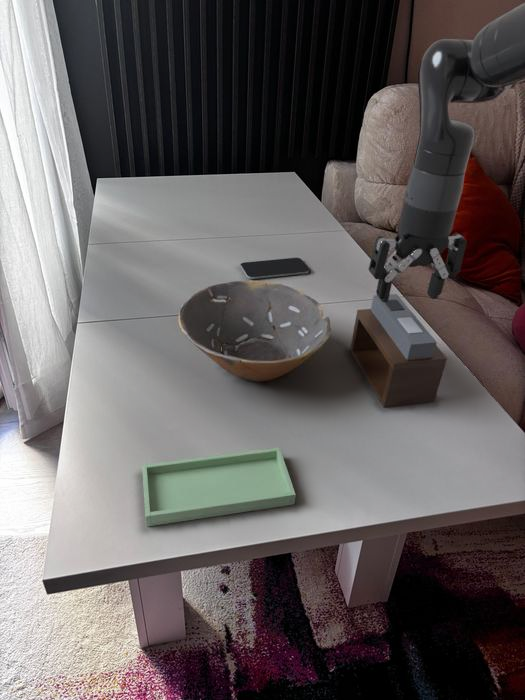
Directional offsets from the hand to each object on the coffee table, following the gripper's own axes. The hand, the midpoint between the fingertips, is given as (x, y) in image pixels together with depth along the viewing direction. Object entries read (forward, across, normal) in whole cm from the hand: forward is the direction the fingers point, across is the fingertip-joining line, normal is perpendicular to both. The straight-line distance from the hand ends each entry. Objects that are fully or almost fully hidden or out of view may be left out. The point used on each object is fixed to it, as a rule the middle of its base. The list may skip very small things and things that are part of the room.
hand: (407, 298), depth 88 cm
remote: (+7, 0, 0) cm, 7 cm away
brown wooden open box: (+16, 0, 0) cm, 16 cm away
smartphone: (+16, -11, +41) cm, 45 cm away
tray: (+16, -34, -20) cm, 42 cm away
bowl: (+16, -23, +7) cm, 29 cm away
